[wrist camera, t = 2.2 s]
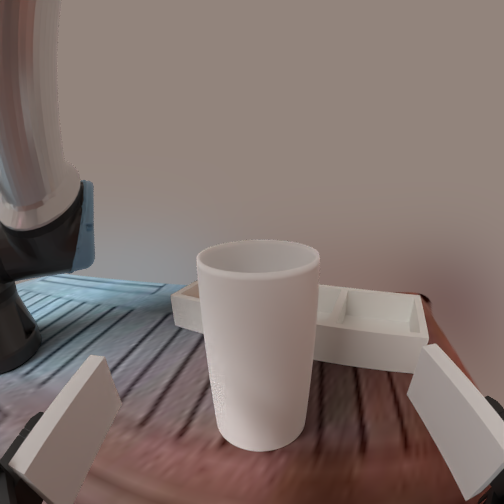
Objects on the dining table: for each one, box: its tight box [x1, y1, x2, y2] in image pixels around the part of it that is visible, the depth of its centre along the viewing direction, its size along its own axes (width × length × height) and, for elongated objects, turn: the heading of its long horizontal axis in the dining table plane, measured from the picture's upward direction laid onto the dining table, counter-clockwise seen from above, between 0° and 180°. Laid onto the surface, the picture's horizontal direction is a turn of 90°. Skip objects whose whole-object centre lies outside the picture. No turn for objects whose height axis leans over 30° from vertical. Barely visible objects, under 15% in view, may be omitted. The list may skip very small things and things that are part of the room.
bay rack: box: [170, 280, 429, 374], centre depth 38 cm, size 34×12×5 cm, turn 64°
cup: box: [197, 240, 320, 452], centre depth 21 cm, size 8×8×16 cm
